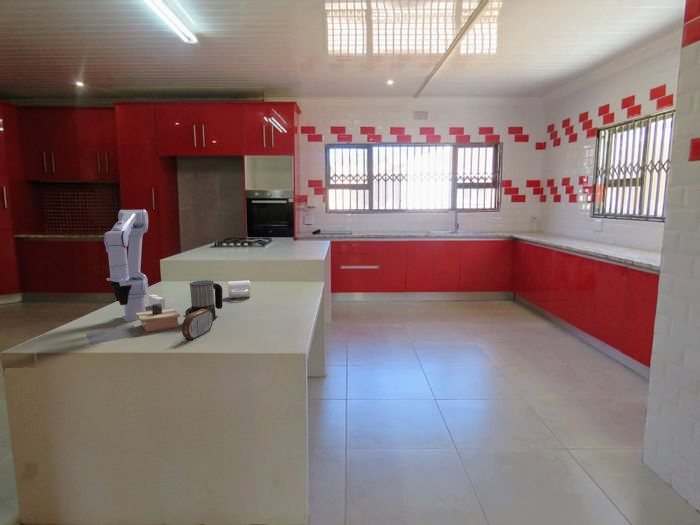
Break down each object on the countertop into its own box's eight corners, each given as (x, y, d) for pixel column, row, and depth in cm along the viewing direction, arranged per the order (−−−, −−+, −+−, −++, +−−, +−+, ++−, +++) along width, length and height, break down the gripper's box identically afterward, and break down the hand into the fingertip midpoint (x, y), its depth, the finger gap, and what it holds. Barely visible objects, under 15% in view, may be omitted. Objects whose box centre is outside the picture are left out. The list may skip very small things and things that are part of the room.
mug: (228, 296, 202) (227, 280, 201) (249, 294, 205) (248, 278, 204) (229, 302, 190) (228, 285, 189) (251, 300, 193) (250, 283, 192)
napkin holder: (168, 311, 176) (167, 298, 175) (139, 313, 173) (138, 300, 173) (174, 303, 191) (173, 291, 190) (147, 305, 188) (146, 292, 187)
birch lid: (135, 314, 153) (134, 304, 153) (171, 309, 161) (170, 299, 160) (142, 322, 143) (141, 311, 143) (180, 316, 151) (179, 305, 150)
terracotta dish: (141, 326, 154) (140, 314, 153) (171, 321, 160) (170, 310, 159) (147, 333, 146) (146, 321, 145) (178, 328, 152) (177, 316, 151)
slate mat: (86, 334, 146) (85, 332, 146) (133, 326, 154) (133, 324, 154) (90, 345, 134) (89, 344, 134) (141, 336, 143) (141, 335, 142)
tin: (207, 328, 151) (206, 305, 150) (215, 328, 151) (214, 306, 149) (181, 342, 137) (180, 317, 136) (190, 342, 136) (188, 317, 135)
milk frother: (208, 323, 157) (205, 285, 155) (171, 321, 160) (168, 283, 158) (226, 313, 171) (224, 278, 169) (192, 311, 174) (190, 277, 172)
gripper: (103, 263, 150) (106, 300, 152) (108, 268, 138) (112, 308, 140) (125, 261, 154) (128, 297, 156) (131, 266, 142) (135, 305, 144)
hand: (122, 302), depth 148 cm, fingers open, 7 cm apart
